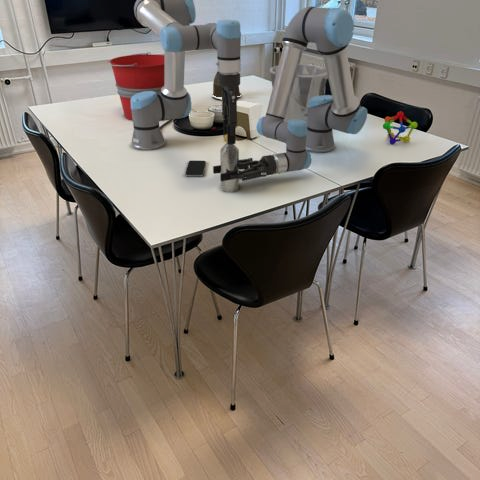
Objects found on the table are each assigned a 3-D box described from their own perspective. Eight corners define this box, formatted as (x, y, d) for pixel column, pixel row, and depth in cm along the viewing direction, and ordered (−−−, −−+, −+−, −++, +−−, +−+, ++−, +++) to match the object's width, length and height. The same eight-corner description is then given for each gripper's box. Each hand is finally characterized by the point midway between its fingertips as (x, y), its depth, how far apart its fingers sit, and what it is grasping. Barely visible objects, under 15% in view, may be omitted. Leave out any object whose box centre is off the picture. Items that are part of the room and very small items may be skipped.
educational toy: (377, 146, 209) (379, 114, 202) (384, 138, 219) (386, 107, 211) (411, 149, 202) (415, 116, 195) (417, 141, 212) (420, 109, 204)
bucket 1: (123, 105, 263) (116, 51, 247) (182, 106, 262) (179, 52, 247) (107, 123, 234) (97, 63, 218) (173, 124, 233) (168, 64, 217)
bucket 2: (296, 138, 215) (301, 78, 201) (255, 124, 234) (256, 68, 219) (335, 125, 232) (342, 70, 217) (294, 113, 251) (297, 61, 236)
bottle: (242, 188, 167) (242, 137, 157) (229, 193, 163) (229, 141, 153) (230, 182, 172) (229, 133, 161) (217, 187, 168) (216, 137, 157)
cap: (225, 143, 156) (225, 137, 155) (223, 139, 159) (223, 134, 158) (235, 142, 157) (236, 136, 156) (233, 138, 160) (233, 133, 159)
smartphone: (184, 174, 176) (189, 160, 189) (184, 176, 176) (189, 161, 189) (203, 175, 176) (206, 160, 188) (203, 176, 176) (206, 162, 189)
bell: (227, 105, 294) (202, 96, 282) (238, 66, 289) (213, 55, 277) (243, 108, 280) (217, 98, 268) (255, 66, 275) (229, 55, 263)
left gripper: (212, 67, 153) (214, 132, 165) (223, 79, 137) (224, 150, 149) (233, 66, 154) (234, 131, 166) (246, 78, 138) (246, 148, 150)
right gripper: (284, 183, 164) (227, 193, 157) (261, 164, 180) (208, 173, 172) (285, 164, 160) (226, 174, 153) (262, 146, 176) (207, 154, 168)
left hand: (229, 140), depth 158 cm, fingers open, 6 cm apart
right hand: (217, 173), depth 162 cm, fingers closed on bottle, 7 cm apart
